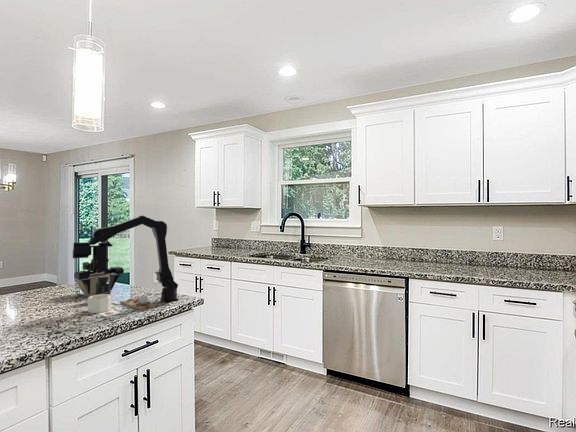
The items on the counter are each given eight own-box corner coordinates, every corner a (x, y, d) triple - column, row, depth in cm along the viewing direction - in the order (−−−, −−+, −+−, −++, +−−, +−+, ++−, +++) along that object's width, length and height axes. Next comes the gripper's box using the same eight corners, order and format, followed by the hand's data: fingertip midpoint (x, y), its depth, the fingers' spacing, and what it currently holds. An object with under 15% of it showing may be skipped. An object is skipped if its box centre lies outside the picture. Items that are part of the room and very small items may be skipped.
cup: (105, 306, 151) (105, 293, 151) (113, 309, 146) (114, 296, 146) (85, 310, 144) (85, 296, 144) (93, 314, 139) (93, 300, 139)
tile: (113, 311, 144) (113, 309, 144) (119, 313, 141) (119, 312, 141) (98, 314, 139) (98, 313, 139) (105, 317, 136) (105, 315, 136)
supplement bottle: (103, 303, 157) (103, 278, 157) (91, 302, 158) (91, 277, 158) (113, 299, 163) (114, 275, 163) (102, 298, 165) (102, 274, 165)
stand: (136, 300, 163) (136, 296, 163) (156, 306, 152) (156, 303, 152) (120, 303, 157) (120, 300, 157) (140, 310, 146) (140, 306, 146)
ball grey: (145, 302, 154) (145, 294, 154) (149, 304, 152) (149, 295, 152) (136, 304, 151) (136, 295, 151) (141, 306, 149) (141, 297, 149)
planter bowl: (68, 297, 167) (68, 276, 166) (93, 290, 182) (94, 270, 182) (95, 299, 163) (95, 277, 163) (118, 292, 179) (119, 272, 179)
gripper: (112, 253, 158) (112, 286, 158) (69, 257, 143) (68, 293, 143) (124, 255, 151) (124, 289, 151) (79, 259, 136) (79, 297, 136)
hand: (99, 292), depth 145 cm, fingers open, 9 cm apart
